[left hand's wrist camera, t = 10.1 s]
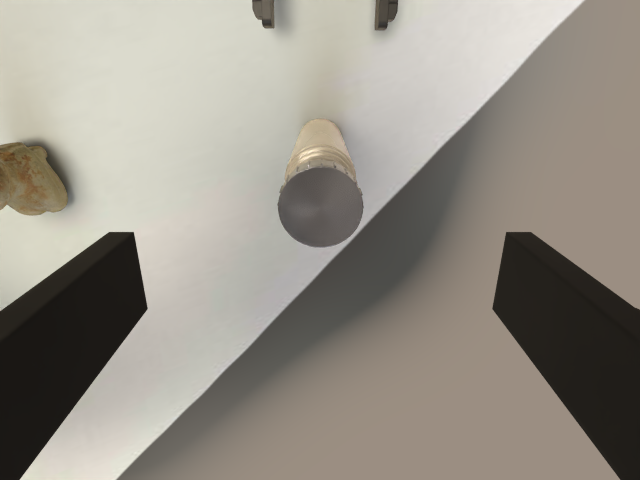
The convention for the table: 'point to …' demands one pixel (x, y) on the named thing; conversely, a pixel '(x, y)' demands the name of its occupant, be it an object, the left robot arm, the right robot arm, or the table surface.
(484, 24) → the table surface
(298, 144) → the bottle
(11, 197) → the sculpture
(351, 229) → the cap
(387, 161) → the table surface
